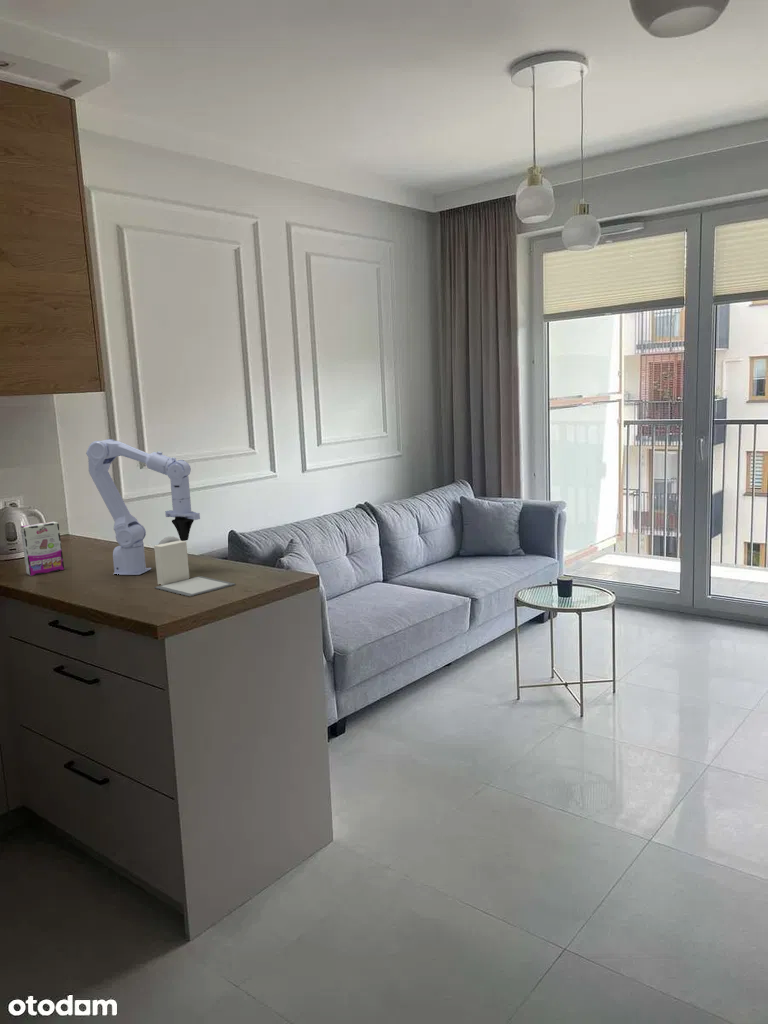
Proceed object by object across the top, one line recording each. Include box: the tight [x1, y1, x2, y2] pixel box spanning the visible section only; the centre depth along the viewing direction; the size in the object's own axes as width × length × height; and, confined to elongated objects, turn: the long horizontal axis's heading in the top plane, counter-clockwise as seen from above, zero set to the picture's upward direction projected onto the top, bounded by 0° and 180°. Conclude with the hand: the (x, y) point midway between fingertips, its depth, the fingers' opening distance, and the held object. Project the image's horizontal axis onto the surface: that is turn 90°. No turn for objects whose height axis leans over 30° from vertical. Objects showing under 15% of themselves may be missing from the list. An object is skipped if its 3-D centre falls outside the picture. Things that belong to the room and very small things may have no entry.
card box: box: [153, 539, 190, 586], centre depth 232 cm, size 4×9×12 cm, turn 138°
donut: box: [157, 536, 181, 545], centre depth 256 cm, size 10×4×10 cm, turn 136°
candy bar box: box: [20, 521, 65, 577], centre depth 254 cm, size 11×5×16 cm, turn 130°
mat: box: [154, 575, 236, 597], centre depth 226 cm, size 18×16×1 cm
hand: (184, 540), depth 245 cm, fingers closed
